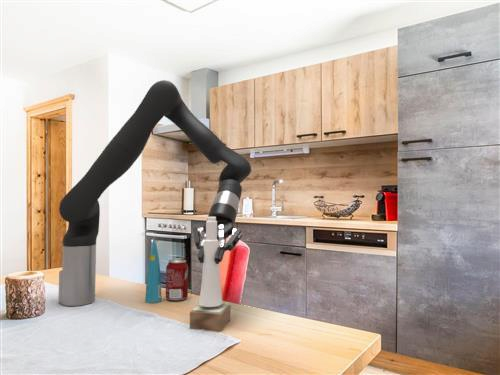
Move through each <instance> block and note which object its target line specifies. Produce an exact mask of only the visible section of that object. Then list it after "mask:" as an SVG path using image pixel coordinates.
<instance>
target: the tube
mask: <svg viewBox="0 0 500 375" xmlns="http://www.w3.org/2000/svg"><path fill="white" fill-rule="evenodd" d="M152 239H153V240H152V244H151V247H150V248H151V249H150V253H149V256H148V257H149V258H148V264H147V270H146V272H147V273H146V285H145V298H144V299H145V302H146V303H148V304H155V303H159V302H162V294H163V293H162V276H161V265H160V258H159V251H158V246H157V242H156V240H155V237H152Z"/></svg>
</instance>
